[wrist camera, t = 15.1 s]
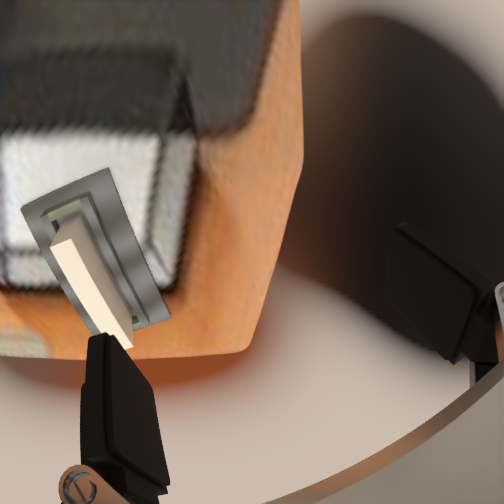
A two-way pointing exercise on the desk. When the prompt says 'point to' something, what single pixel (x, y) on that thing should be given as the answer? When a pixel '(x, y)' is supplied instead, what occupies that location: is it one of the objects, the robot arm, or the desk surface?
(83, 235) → the clay strip
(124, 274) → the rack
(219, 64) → the desk surface
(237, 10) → the desk surface
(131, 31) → the desk surface
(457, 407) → the robot arm
